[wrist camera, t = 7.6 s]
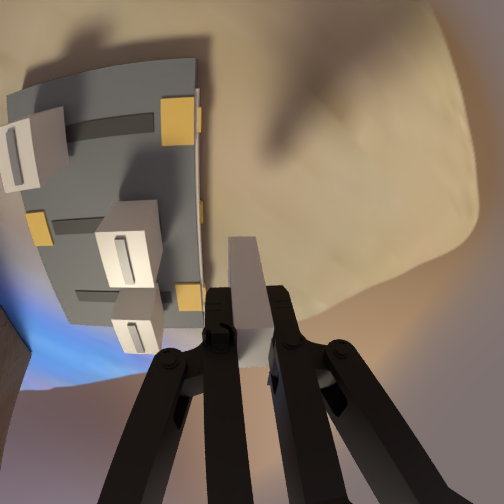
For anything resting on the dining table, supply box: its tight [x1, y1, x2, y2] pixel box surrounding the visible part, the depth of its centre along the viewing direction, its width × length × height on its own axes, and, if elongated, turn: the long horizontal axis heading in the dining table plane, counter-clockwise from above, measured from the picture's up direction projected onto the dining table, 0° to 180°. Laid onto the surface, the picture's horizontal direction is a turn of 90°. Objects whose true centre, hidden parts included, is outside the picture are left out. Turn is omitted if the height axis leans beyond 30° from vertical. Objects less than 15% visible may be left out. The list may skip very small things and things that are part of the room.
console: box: [6, 58, 206, 328], centre depth 20 cm, size 14×22×2 cm, turn 177°
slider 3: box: [111, 283, 165, 354], centre depth 21 cm, size 3×4×4 cm
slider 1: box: [0, 106, 70, 193], centre depth 13 cm, size 3×4×4 cm
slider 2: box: [95, 200, 163, 288], centre depth 17 cm, size 3×4×4 cm
